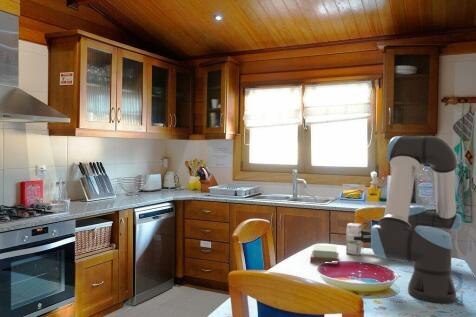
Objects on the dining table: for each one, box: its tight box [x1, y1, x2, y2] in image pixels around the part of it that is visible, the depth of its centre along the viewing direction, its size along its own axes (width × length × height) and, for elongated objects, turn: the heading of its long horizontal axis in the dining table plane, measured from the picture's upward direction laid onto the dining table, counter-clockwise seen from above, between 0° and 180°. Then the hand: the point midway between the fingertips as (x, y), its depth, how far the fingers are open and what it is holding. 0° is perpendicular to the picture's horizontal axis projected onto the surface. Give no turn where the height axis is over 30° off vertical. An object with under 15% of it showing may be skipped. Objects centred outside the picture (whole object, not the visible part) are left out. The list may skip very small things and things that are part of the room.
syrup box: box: [345, 222, 362, 256], centre depth 195 cm, size 6×6×14 cm
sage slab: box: [313, 244, 338, 259], centre depth 183 cm, size 10×10×3 cm
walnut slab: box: [310, 250, 340, 264], centre depth 183 cm, size 12×12×3 cm
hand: (346, 234), depth 196 cm, fingers open, 12 cm apart
